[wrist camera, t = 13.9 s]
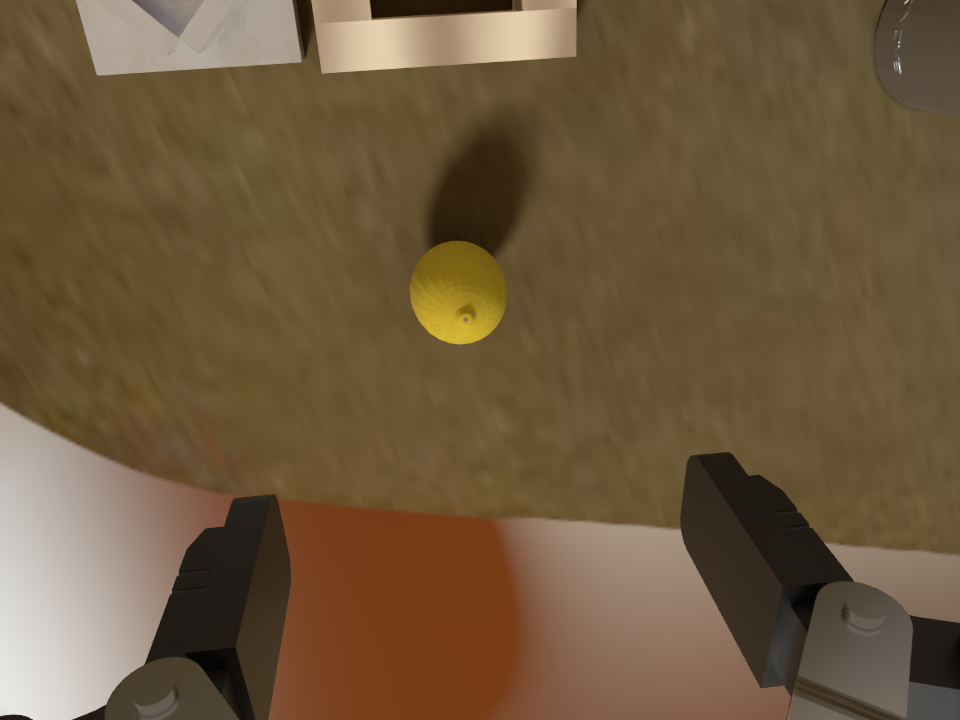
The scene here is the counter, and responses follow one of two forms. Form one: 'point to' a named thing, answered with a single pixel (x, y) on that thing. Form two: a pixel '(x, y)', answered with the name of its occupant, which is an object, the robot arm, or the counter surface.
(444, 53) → the wooden square frame
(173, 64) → the v block
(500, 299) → the lemon
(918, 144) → the counter surface
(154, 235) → the counter surface
